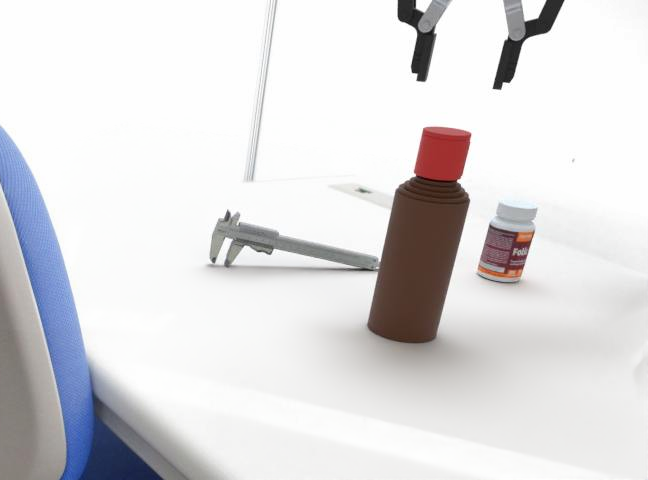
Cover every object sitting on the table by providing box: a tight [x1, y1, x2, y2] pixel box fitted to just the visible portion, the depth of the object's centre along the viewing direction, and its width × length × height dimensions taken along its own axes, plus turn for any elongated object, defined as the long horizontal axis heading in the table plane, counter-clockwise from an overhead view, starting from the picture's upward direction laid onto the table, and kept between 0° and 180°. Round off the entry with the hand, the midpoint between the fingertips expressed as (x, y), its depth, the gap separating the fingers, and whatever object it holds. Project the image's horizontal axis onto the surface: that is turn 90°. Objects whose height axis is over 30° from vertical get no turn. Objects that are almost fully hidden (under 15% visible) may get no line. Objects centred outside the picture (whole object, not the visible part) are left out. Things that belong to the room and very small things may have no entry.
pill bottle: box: [476, 198, 539, 283], centre depth 98 cm, size 5×5×8 cm
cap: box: [413, 126, 472, 181], centre depth 76 cm, size 4×4×4 cm
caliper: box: [209, 208, 380, 271], centre depth 97 cm, size 20×1×6 cm, turn 95°
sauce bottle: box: [366, 174, 471, 344], centre depth 79 cm, size 6×6×18 cm
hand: (458, 83), depth 73 cm, fingers open, 5 cm apart
